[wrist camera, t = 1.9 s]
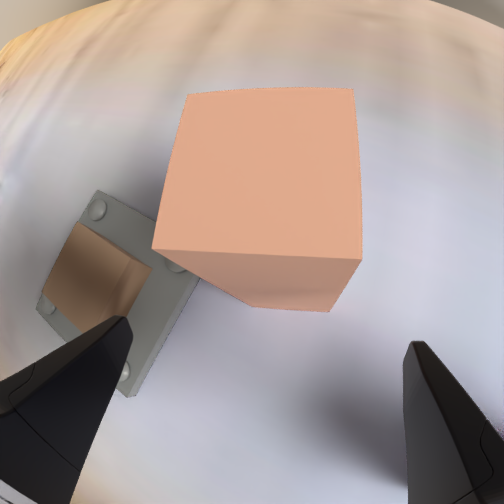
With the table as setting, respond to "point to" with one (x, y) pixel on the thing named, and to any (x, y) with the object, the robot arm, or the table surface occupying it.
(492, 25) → the table surface
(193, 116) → the tall brick
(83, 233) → the short brick
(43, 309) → the baseplate
